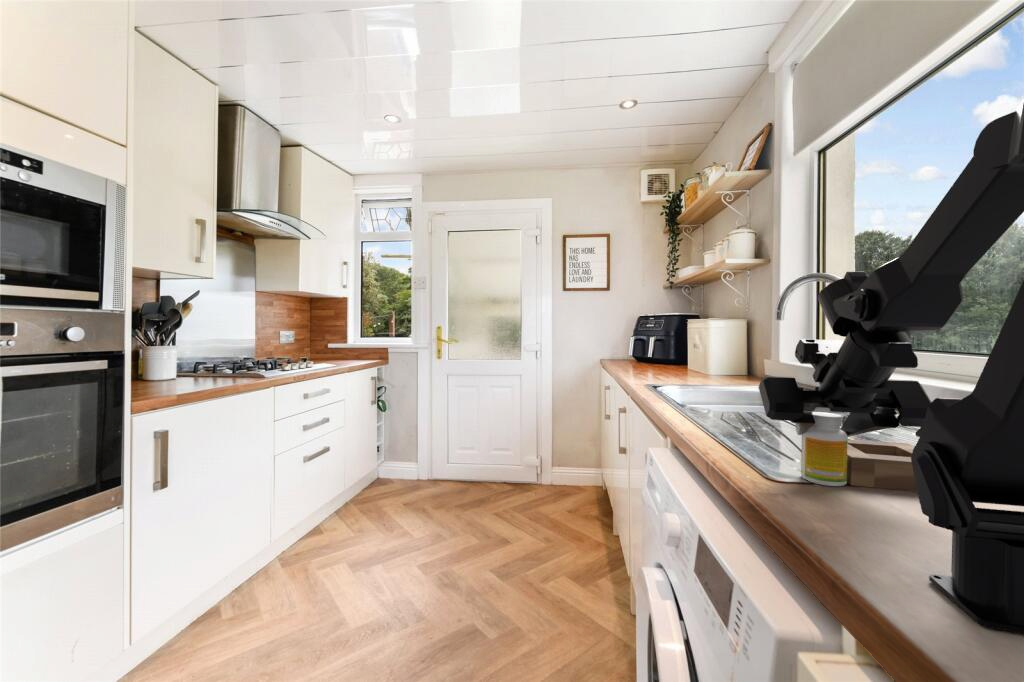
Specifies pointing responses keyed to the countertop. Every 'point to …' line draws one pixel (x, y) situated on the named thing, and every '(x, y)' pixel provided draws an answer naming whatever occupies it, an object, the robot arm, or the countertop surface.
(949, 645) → the countertop surface
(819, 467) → the supplement bottle
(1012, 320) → the robot arm
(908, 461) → the walnut collar
